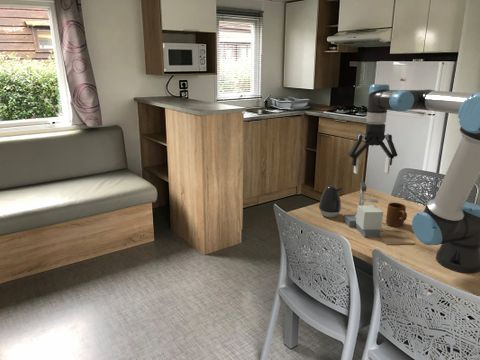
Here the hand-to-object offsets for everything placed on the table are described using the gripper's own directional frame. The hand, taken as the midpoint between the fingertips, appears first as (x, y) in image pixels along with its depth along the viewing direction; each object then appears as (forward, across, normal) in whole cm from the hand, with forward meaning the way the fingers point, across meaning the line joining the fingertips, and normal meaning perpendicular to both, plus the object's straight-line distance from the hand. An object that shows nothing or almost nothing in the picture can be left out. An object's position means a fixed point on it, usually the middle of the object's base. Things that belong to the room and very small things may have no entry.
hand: (371, 173), depth 162 cm
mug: (+26, -16, -3) cm, 31 cm away
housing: (+26, 0, -2) cm, 26 cm away
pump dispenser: (+26, +11, -17) cm, 33 cm away
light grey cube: (+23, 0, +3) cm, 23 cm away
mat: (+26, -9, +9) cm, 29 cm away
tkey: (+22, -2, -6) cm, 23 cm away
